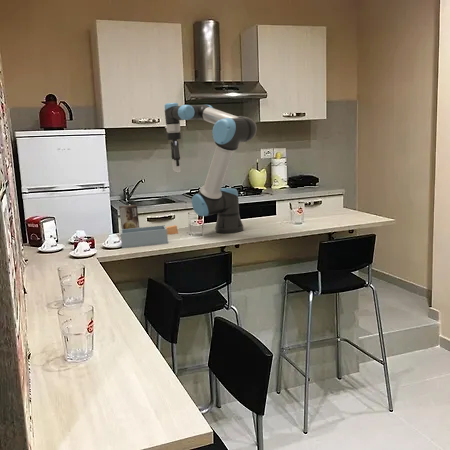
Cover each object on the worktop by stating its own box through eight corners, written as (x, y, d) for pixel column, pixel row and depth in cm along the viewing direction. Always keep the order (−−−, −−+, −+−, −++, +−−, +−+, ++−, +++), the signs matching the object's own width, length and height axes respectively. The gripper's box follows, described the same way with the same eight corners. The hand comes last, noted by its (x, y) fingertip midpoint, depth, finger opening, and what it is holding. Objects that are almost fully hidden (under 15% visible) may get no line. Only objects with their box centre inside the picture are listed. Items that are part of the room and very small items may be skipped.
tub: (166, 240, 264) (164, 225, 263) (168, 245, 253) (166, 229, 251) (122, 245, 260) (120, 229, 259) (122, 250, 249) (120, 233, 247)
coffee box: (137, 232, 292) (135, 204, 289) (140, 234, 286) (137, 205, 283) (121, 234, 289) (118, 206, 286) (123, 236, 283) (120, 207, 280)
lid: (176, 231, 284) (175, 223, 283) (179, 235, 272) (177, 227, 271) (122, 242, 279) (120, 233, 278) (122, 246, 267) (120, 238, 266)
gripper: (164, 133, 292) (167, 170, 296) (168, 132, 268) (172, 173, 272) (177, 132, 294) (181, 169, 298) (183, 131, 270) (186, 172, 273)
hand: (176, 171), depth 285 cm, fingers open, 13 cm apart
